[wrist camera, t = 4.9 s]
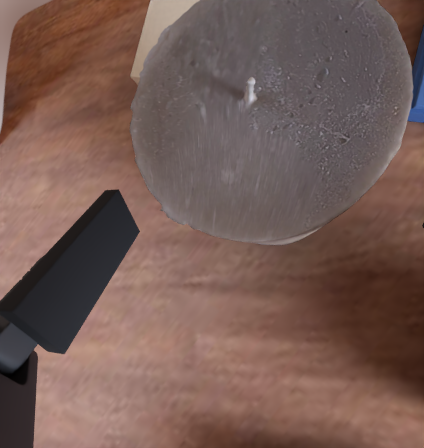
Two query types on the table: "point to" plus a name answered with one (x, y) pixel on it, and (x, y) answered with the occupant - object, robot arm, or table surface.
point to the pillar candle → (270, 114)
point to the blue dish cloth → (418, 85)
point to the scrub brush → (157, 28)
